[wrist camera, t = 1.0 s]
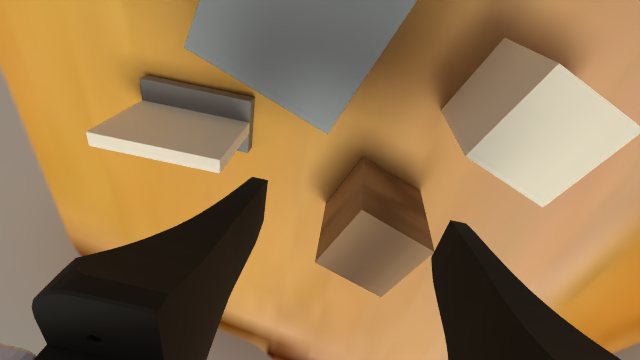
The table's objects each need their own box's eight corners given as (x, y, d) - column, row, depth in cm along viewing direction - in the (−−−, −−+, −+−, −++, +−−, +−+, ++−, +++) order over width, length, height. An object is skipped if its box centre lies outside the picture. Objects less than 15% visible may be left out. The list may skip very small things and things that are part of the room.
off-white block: (568, 86, 18) (644, 129, 13) (500, 150, 21) (542, 207, 16) (504, 37, 18) (559, 63, 12) (440, 110, 20) (465, 156, 15)
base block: (421, -23, 17) (432, -22, 14) (333, 111, 21) (327, 134, 18) (274, -133, 15) (251, -158, 12) (211, 36, 20) (184, 47, 17)
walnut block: (420, 191, 23) (434, 251, 18) (378, 233, 26) (381, 297, 20) (363, 156, 22) (361, 209, 17) (326, 203, 25) (315, 262, 20)
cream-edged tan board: (254, 97, 21) (219, 135, 16) (251, 147, 23) (219, 194, 18) (146, 75, 21) (79, 105, 16) (152, 126, 23) (94, 168, 18)
